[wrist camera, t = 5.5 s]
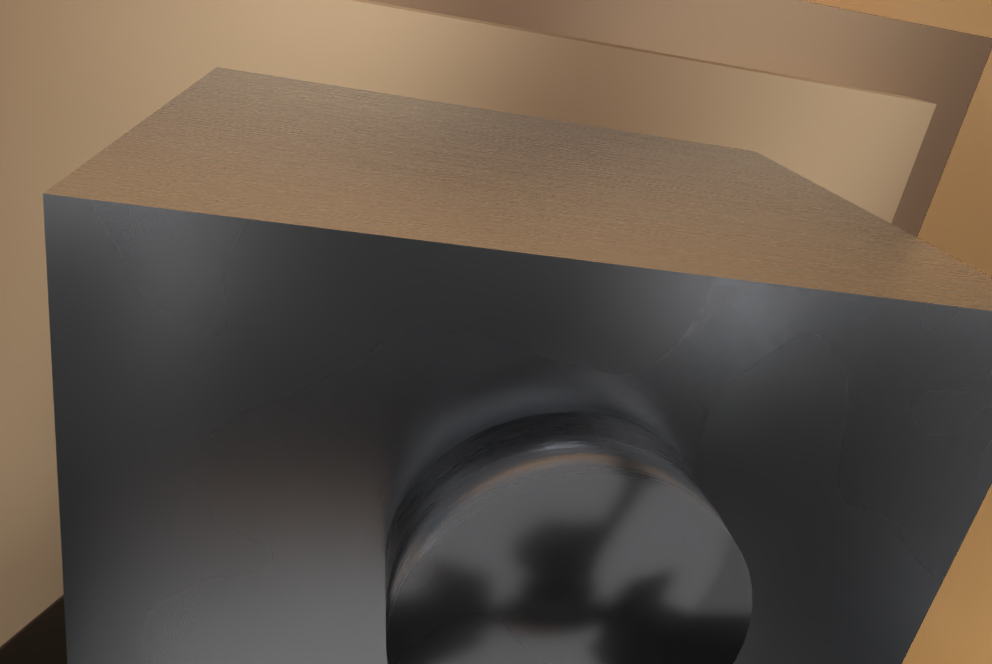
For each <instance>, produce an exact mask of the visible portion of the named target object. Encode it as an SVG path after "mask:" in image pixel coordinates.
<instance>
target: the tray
mask: <svg viewBox="0 0 992 664" xmlns="http://www.w3.org/2000/svg"><path fill="white" fill-rule="evenodd" d="M991 49H992V38H988V37H983V36H977V35H972V34H967V33H962V32H957V31H952V30H947V29H942V28H937V27H932V26H927V25H922V24H917V23H912V22H907V21H902V20H897V19H892V18H887V17H882V16H877V15H872V14H866V13H861V12H856V11H851V10H846V9H841V8H836V7H831V6H826V5H821V4H816V3H811V2H806V1H801V0H0V646H1V645H2V644H4V643H5V642H6V641H7V640H9V639H10V638H11V637H12V636H13V635H15V634H16V633H17V632H18V631H19V630H21V629H22V628H23V627H24V626H26V625H27V624H28V623H29V622H30V621H32V620H33V619H34V618H35V617H36V616H38V615H39V614H40V613H41V612H42V611H44V610H45V609H46V608H47V607H49V606H50V605H51V604H52V603H53V602H55V601H56V600H57V599H58V598H59V597H61V596H62V595H63V594H64V589H63V570H62V551H61V532H60V513H59V494H58V475H57V456H56V437H55V418H54V399H53V380H52V361H51V342H50V323H49V304H48V285H47V266H46V247H45V228H44V209H43V193H44V192H45V191H47V190H48V189H50V188H51V187H52V186H54V185H55V184H56V183H58V182H59V181H61V180H62V179H63V178H65V177H66V176H67V175H69V174H70V173H72V172H73V171H74V170H76V169H77V168H78V167H80V166H81V165H83V164H84V163H85V162H87V161H88V160H89V159H91V158H92V157H94V156H95V155H96V154H98V153H99V152H100V151H102V150H103V149H105V148H106V147H107V146H109V145H110V144H111V143H113V142H114V141H116V140H117V139H118V138H120V137H121V136H122V135H124V134H125V133H127V132H128V131H129V130H131V129H132V128H133V127H135V126H136V125H138V124H139V123H140V122H142V121H143V120H144V119H146V118H147V117H149V116H150V115H151V114H153V113H154V112H155V111H157V110H158V109H160V108H161V107H162V106H164V105H165V104H166V103H168V102H169V101H171V100H172V99H173V98H175V97H176V96H177V95H179V94H180V93H182V92H183V91H184V90H186V89H187V88H188V87H190V86H191V85H193V84H194V83H195V82H197V81H198V80H199V79H201V78H202V77H204V76H205V75H206V74H208V73H209V72H210V71H212V70H213V69H215V68H216V67H220V68H226V69H233V70H239V71H245V72H252V73H258V74H265V75H271V76H277V77H284V78H290V79H296V80H303V81H309V82H316V83H322V84H328V85H335V86H341V87H348V88H354V89H360V90H367V91H373V92H379V93H386V94H392V95H399V96H405V97H411V98H418V99H424V100H431V101H437V102H443V103H450V104H456V105H462V106H469V107H475V108H482V109H488V110H494V111H501V112H507V113H514V114H520V115H526V116H533V117H539V118H545V119H552V120H558V121H565V122H571V123H577V124H584V125H590V126H597V127H603V128H609V129H616V130H622V131H628V132H635V133H641V134H648V135H654V136H660V137H667V138H673V139H680V140H686V141H692V142H699V143H705V144H711V145H718V146H724V147H731V148H737V149H743V150H750V151H756V152H758V153H760V154H761V155H763V156H765V157H767V158H769V159H771V160H773V161H775V162H776V163H778V164H780V165H782V166H784V167H786V168H788V169H790V170H791V171H793V172H795V173H797V174H799V175H801V176H803V177H805V178H806V179H808V180H810V181H812V182H814V183H816V184H818V185H820V186H821V187H823V188H825V189H827V190H829V191H831V192H833V193H835V194H836V195H838V196H840V197H842V198H844V199H846V200H848V201H850V202H851V203H853V204H855V205H857V206H859V207H861V208H863V209H864V210H866V211H868V212H870V213H872V214H874V215H876V216H878V217H879V218H881V219H883V220H885V221H887V222H889V223H891V224H893V225H894V226H896V227H898V228H900V229H902V230H904V231H906V232H908V233H909V234H911V235H913V236H915V237H917V236H918V233H919V231H920V228H921V226H922V223H923V221H924V218H925V216H926V213H927V211H928V208H929V206H930V203H931V201H932V198H933V196H934V193H935V191H936V188H937V186H938V183H939V180H940V178H941V175H942V173H943V170H944V168H945V165H946V163H947V160H948V158H949V155H950V153H951V150H952V148H953V145H954V143H955V140H956V138H957V135H958V133H959V130H960V128H961V125H962V122H963V120H964V117H965V115H966V112H967V110H968V107H969V105H970V102H971V100H972V97H973V95H974V92H975V90H976V87H977V85H978V82H979V80H980V77H981V75H982V72H983V70H984V67H985V64H986V62H987V59H988V57H989V54H990V52H991Z"/></svg>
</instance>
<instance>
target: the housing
mask: <svg viewBox="0 0 992 664" xmlns="http://www.w3.org/2000/svg"><path fill="white" fill-rule="evenodd" d="M43 209H44V228H45V247H46V266H47V285H48V304H49V323H50V342H51V361H52V380H53V399H54V418H55V437H56V456H57V475H58V494H59V513H60V532H61V551H62V570H63V589H64V608H65V627H66V646H67V664H902V662H903V660H904V658H905V656H906V654H907V652H908V650H909V648H910V646H911V644H912V642H913V640H914V638H915V636H916V634H917V632H918V630H919V628H920V626H921V624H922V622H923V620H924V618H925V616H926V614H927V612H928V610H929V608H930V606H931V604H932V602H933V600H934V598H935V596H936V594H937V592H938V590H939V588H940V586H941V584H942V582H943V580H944V578H945V576H946V574H947V572H948V570H949V568H950V566H951V564H952V562H953V560H954V558H955V556H956V554H957V552H958V550H959V548H960V546H961V544H962V542H963V540H964V538H965V536H966V534H967V532H968V530H969V528H970V526H971V524H972V522H973V520H974V518H975V516H976V514H977V512H978V510H979V508H980V506H981V504H982V502H983V500H984V498H985V496H986V494H987V492H988V490H989V488H990V486H991V484H992V277H990V276H988V275H986V274H984V273H982V272H981V271H979V270H977V269H975V268H973V267H971V266H969V265H967V264H966V263H964V262H962V261H960V260H958V259H956V258H954V257H953V256H951V255H949V254H947V253H945V252H943V251H941V250H939V249H938V248H936V247H934V246H932V245H930V244H928V243H926V242H924V241H923V240H921V239H919V238H917V237H915V236H913V235H911V234H909V233H908V232H906V231H904V230H902V229H900V228H898V227H896V226H894V225H893V224H891V223H889V222H887V221H885V220H883V219H881V218H879V217H878V216H876V215H874V214H872V213H870V212H868V211H866V210H864V209H863V208H861V207H859V206H857V205H855V204H853V203H851V202H850V201H848V200H846V199H844V198H842V197H840V196H838V195H836V194H835V193H833V192H831V191H829V190H827V189H825V188H823V187H821V186H820V185H818V184H816V183H814V182H812V181H810V180H808V179H806V178H805V177H803V176H801V175H799V174H797V173H795V172H793V171H791V170H790V169H788V168H786V167H784V166H782V165H780V164H778V163H776V162H775V161H773V160H771V159H769V158H767V157H765V156H763V155H761V154H760V153H758V152H756V151H750V150H743V149H737V148H731V147H724V146H718V145H711V144H705V143H699V142H692V141H686V140H680V139H673V138H667V137H660V136H654V135H648V134H641V133H635V132H628V131H622V130H616V129H609V128H603V127H597V126H590V125H584V124H577V123H571V122H565V121H558V120H552V119H545V118H539V117H533V116H526V115H520V114H514V113H507V112H501V111H494V110H488V109H482V108H475V107H469V106H462V105H456V104H450V103H443V102H437V101H431V100H424V99H418V98H411V97H405V96H399V95H392V94H386V93H379V92H373V91H367V90H360V89H354V88H348V87H341V86H335V85H328V84H322V83H316V82H309V81H303V80H296V79H290V78H284V77H277V76H271V75H265V74H258V73H252V72H245V71H239V70H233V69H226V68H220V67H216V68H215V69H213V70H212V71H210V72H209V73H208V74H206V75H205V76H204V77H202V78H201V79H199V80H198V81H197V82H195V83H194V84H193V85H191V86H190V87H188V88H187V89H186V90H184V91H183V92H182V93H180V94H179V95H177V96H176V97H175V98H173V99H172V100H171V101H169V102H168V103H166V104H165V105H164V106H162V107H161V108H160V109H158V110H157V111H155V112H154V113H153V114H151V115H150V116H149V117H147V118H146V119H144V120H143V121H142V122H140V123H139V124H138V125H136V126H135V127H133V128H132V129H131V130H129V131H128V132H127V133H125V134H124V135H122V136H121V137H120V138H118V139H117V140H116V141H114V142H113V143H111V144H110V145H109V146H107V147H106V148H105V149H103V150H102V151H100V152H99V153H98V154H96V155H95V156H94V157H92V158H91V159H89V160H88V161H87V162H85V163H84V164H83V165H81V166H80V167H78V168H77V169H76V170H74V171H73V172H72V173H70V174H69V175H67V176H66V177H65V178H63V179H62V180H61V181H59V182H58V183H56V184H55V185H54V186H52V187H51V188H50V189H48V190H47V191H45V192H44V193H43Z"/></svg>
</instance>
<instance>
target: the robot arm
mask: <svg viewBox="0 0 992 664" xmlns="http://www.w3.org/2000/svg"><path fill="white" fill-rule="evenodd" d="M0 664H67V646H66V627H65V608H64V594H63V595H62V596H61V597H59V598H58V599H57V600H56V601H55V602H53V603H52V604H51V605H50V606H49V607H47V608H46V609H45V610H44V611H42V612H41V613H40V614H39V615H38V616H36V617H35V618H34V619H33V620H32V621H30V622H29V623H28V624H27V625H26V626H24V627H23V628H22V629H21V630H19V631H18V632H17V633H16V634H15V635H13V636H12V637H11V638H10V639H9V640H7V641H6V642H5V643H4V644H2V645H1V646H0Z"/></svg>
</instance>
